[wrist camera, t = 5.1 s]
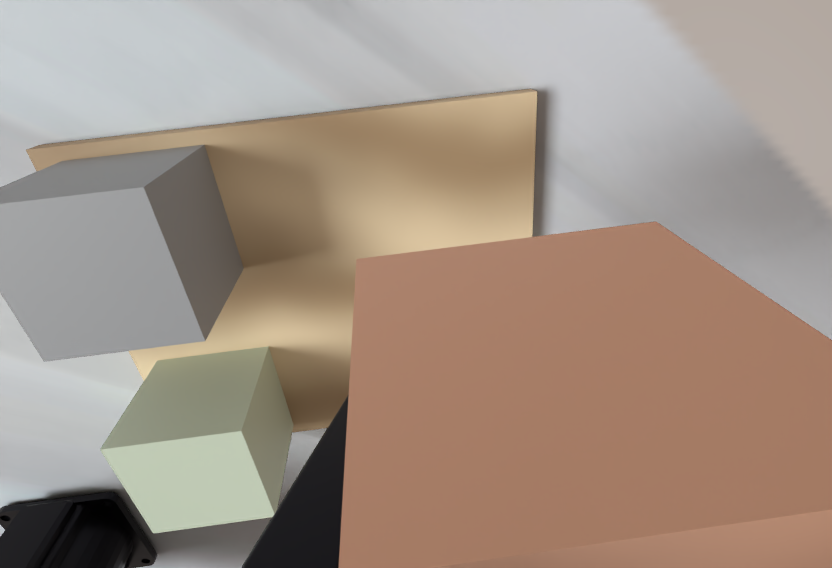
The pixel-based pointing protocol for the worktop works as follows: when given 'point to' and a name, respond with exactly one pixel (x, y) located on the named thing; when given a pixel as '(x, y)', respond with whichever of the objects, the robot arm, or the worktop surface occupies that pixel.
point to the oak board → (341, 217)
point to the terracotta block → (582, 411)
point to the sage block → (204, 441)
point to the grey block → (117, 252)
